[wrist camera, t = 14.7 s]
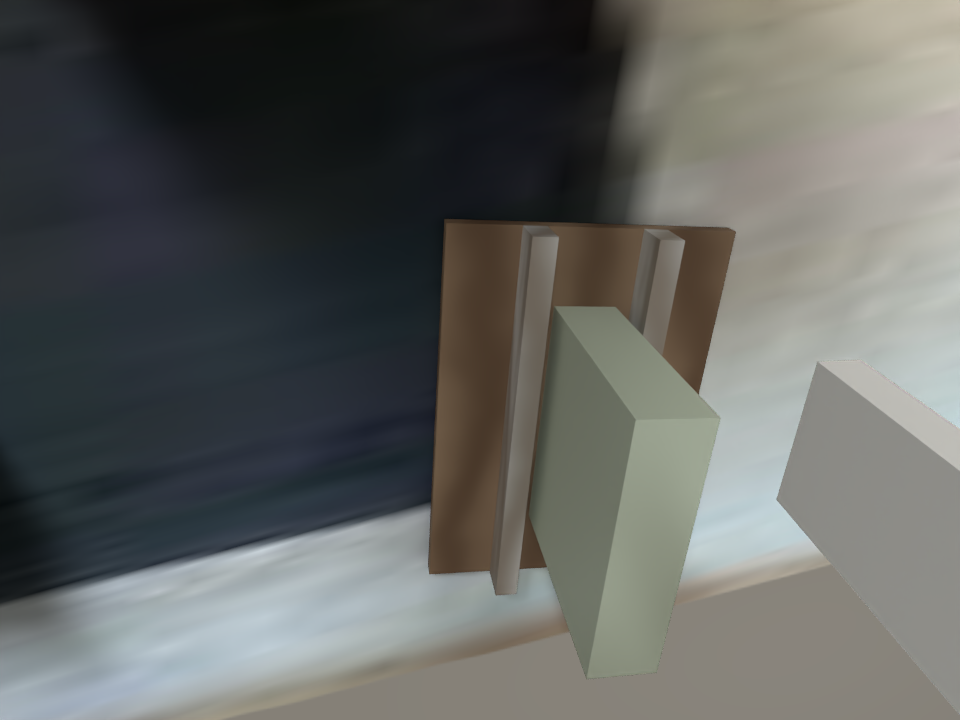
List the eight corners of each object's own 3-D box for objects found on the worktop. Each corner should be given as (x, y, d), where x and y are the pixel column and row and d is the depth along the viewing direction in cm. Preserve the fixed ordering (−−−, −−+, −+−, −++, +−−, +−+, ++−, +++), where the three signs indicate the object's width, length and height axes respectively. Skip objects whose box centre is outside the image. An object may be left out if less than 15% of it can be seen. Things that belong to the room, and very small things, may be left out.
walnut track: (428, 564, 51) (432, 599, 47) (444, 218, 40) (451, 234, 37) (655, 551, 54) (673, 583, 51) (728, 227, 43) (756, 242, 40)
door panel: (528, 514, 49) (586, 679, 36) (554, 306, 42) (635, 419, 30) (581, 512, 49) (656, 672, 37) (615, 306, 43) (720, 418, 30)
